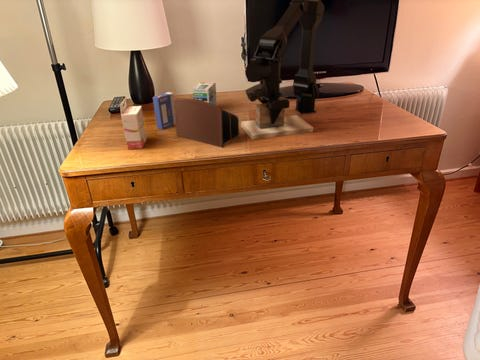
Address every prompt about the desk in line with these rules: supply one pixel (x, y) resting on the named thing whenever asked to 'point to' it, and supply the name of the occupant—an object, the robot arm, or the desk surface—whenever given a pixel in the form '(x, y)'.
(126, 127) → the ink cartridge box
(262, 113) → the block
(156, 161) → the desk surface
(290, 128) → the birch board
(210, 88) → the light bulb box
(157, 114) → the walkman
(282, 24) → the robot arm
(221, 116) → the letter holder
